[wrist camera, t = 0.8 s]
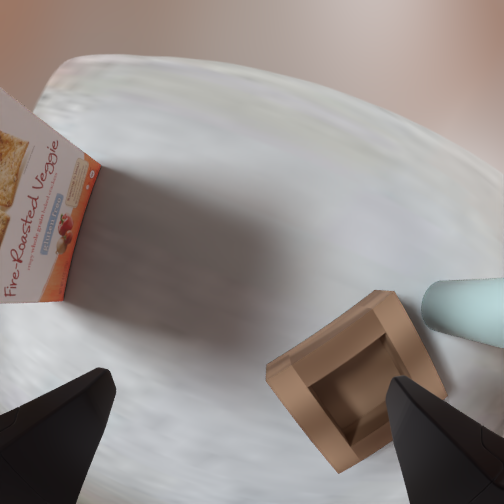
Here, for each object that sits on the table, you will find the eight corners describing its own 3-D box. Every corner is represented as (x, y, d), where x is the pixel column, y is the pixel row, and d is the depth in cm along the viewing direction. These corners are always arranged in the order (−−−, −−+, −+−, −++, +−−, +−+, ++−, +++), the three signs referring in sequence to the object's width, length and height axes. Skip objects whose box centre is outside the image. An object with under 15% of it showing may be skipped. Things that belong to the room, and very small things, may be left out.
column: (465, 309, 21) (564, 319, 9) (434, 341, 21) (532, 372, 9) (446, 270, 22) (549, 258, 9) (413, 301, 22) (516, 311, 9)
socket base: (425, 382, 21) (447, 395, 17) (330, 449, 21) (338, 473, 17) (374, 290, 22) (394, 291, 18) (266, 364, 22) (265, 380, 18)
